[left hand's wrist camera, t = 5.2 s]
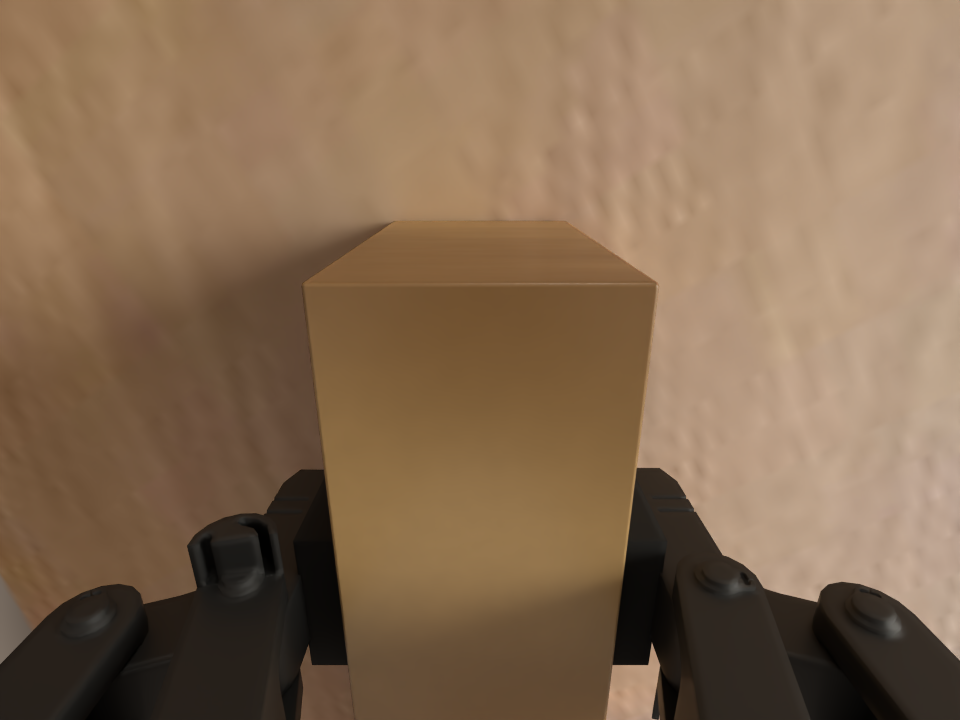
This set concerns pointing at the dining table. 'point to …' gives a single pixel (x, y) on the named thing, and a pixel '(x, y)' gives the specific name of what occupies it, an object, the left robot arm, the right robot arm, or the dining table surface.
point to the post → (480, 463)
